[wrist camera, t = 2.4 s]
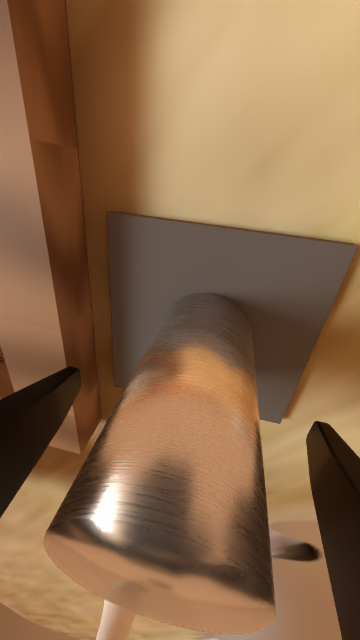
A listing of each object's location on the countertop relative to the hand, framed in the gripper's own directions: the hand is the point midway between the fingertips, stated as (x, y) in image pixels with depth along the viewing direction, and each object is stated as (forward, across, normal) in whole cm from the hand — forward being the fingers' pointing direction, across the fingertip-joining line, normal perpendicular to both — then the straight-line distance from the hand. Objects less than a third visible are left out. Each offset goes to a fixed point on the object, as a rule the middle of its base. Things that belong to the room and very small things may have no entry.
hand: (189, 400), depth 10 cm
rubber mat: (+5, 0, 0) cm, 5 cm away
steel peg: (+5, 0, 0) cm, 5 cm away
